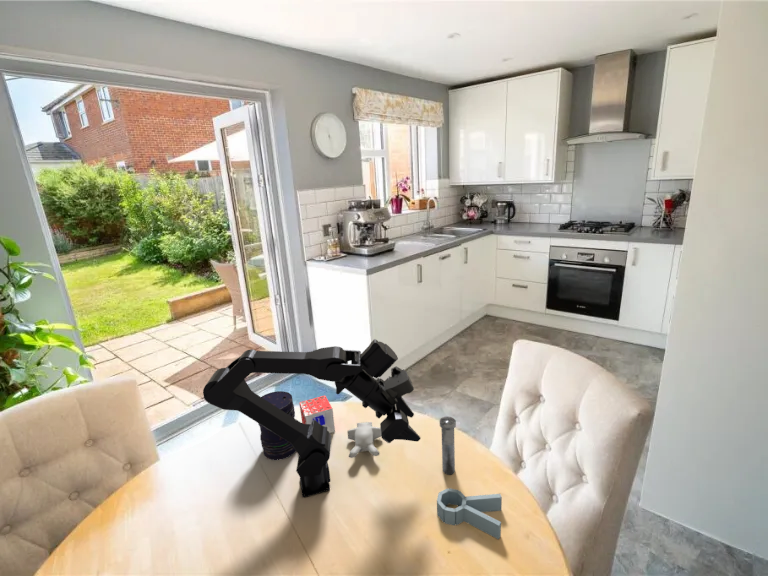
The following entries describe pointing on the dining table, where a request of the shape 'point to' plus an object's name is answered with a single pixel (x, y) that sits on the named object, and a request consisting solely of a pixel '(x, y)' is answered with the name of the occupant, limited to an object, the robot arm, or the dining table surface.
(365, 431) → the grey figurine
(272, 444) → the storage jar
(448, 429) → the hinge pin
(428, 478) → the dining table surface
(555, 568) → the dining table surface
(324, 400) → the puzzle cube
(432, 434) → the dining table surface
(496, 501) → the grey ring with prongs
